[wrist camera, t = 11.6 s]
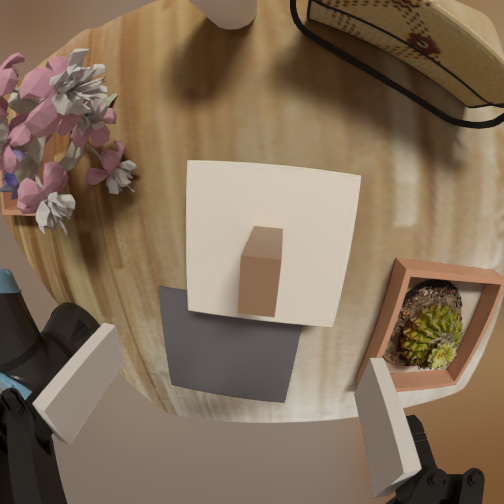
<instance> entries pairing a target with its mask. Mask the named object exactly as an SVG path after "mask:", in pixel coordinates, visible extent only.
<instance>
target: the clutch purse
mask: <svg viewBox="0 0 504 504" xmlns="http://www.w3.org/2000/svg"><path fill="white" fill-rule="evenodd" d="M290 10H291V15H292V18H293V21H294V23H295V24H296V26H297V28H298V29H299V30H300V31H301V32H302V33H303V34H304V35H306V36H307V37H309V38H310V39H312V40H313V41H315V42H317V43H318V44H320V45H322V46H323V47H325V48H327V49H328V50H330V51H332V52H333V53H335V54H337V55H338V56H340V57H342V58H343V59H345V60H347V61H349V62H350V63H352V64H354V65H355V66H357V67H359V68H360V69H362V70H364V71H365V72H367V73H369V74H370V75H372V76H374V77H375V78H377V79H379V80H380V81H382V82H384V83H385V84H387V85H388V86H390V87H392V88H394V89H395V90H397V91H399V92H400V93H402V94H404V95H405V96H407V97H408V98H410V99H411V100H413V101H415V102H416V103H418V104H419V105H421V106H423V107H424V108H426V109H427V110H429V111H430V112H432V113H434V114H435V115H437V116H438V117H440V118H442V119H443V120H445V121H447V122H449V123H451V124H454V125H457V126H462V127H467V128H476V129H482V128H490V127H494V126H497V125H499V124H500V123H502V122H504V113H503V114H501V115H500V116H498V117H497V118H495V119H493V120H489V121H484V122H470V121H463V120H459V119H455V118H452V117H450V116H448V115H446V114H444V113H443V112H441V111H440V110H438V109H436V108H435V107H433V106H432V105H430V104H429V103H427V102H425V101H424V100H422V99H421V98H419V97H418V96H416V95H414V94H413V93H411V92H410V91H408V90H406V89H405V88H403V87H401V86H400V85H398V84H397V83H395V82H393V81H392V80H390V79H388V78H387V77H385V76H384V75H382V74H380V73H379V72H377V71H375V70H374V69H372V68H370V67H369V66H367V65H365V64H364V63H362V62H360V61H359V60H357V59H355V58H354V57H352V56H350V55H349V54H347V53H345V52H344V51H342V50H340V49H338V48H337V47H335V46H333V45H332V44H330V43H328V42H327V41H325V40H324V39H322V38H320V37H319V36H317V35H315V34H314V33H312V32H311V31H310V30H308V29H307V28H306V27H305V26H304V25H303V24H302V22H301V20H300V19H299V17H298V14H297V9H296V0H290ZM307 19H308V20H309V19H312V20H315V21H318V22H320V23H323V24H326V25H329V26H331V27H334V28H336V29H339V30H341V31H344V32H346V33H349V34H351V35H353V36H355V37H358V38H360V39H362V40H364V41H366V42H368V43H370V44H372V45H374V46H376V47H378V48H380V49H382V50H384V51H386V52H388V53H390V54H392V55H393V56H395V57H397V58H399V59H401V60H402V61H404V62H406V63H407V64H409V65H411V66H412V67H414V68H415V69H417V70H419V71H420V72H422V73H423V74H425V75H426V76H428V77H429V78H431V79H432V80H434V81H435V82H436V83H438V84H439V85H441V86H442V87H443V88H445V89H446V90H447V91H449V92H450V93H451V94H453V95H454V96H455V97H456V98H458V99H459V100H460V101H461V102H463V103H464V104H465V106H466V107H468V108H479V107H485V106H495V107H500V108H504V58H503V57H502V56H501V55H500V54H499V53H498V52H497V51H496V50H495V49H494V48H493V47H492V46H490V45H489V44H488V43H487V42H486V41H485V40H484V39H483V38H482V37H480V36H479V35H478V34H477V33H476V32H475V31H473V30H472V29H471V28H470V27H468V26H467V25H466V24H465V23H463V22H462V21H461V20H459V19H458V18H457V17H455V16H454V15H453V14H451V13H450V12H449V11H447V10H446V9H444V8H443V7H441V6H440V5H438V4H437V3H435V2H434V1H432V0H308V7H307Z"/></svg>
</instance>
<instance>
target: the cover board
mask: <svg viewBox="0 0 504 504" xmlns="http://www.w3.org/2000/svg"><path fill="white" fill-rule="evenodd" d="M360 182H361V176H360V175H354V174H347V173H341V172H334V171H327V170H319V169H311V168H303V167H294V166H284V165H273V164H261V163H247V162H229V161H202V160H188V162H187V192H186V264H187V294H188V310H190V311H196V312H203V313H209V314H216V315H223V316H230V317H238V318H245V319H254V320H262V321H271V322H280V323H291V324H302V325H313V326H327V327H333V324H334V320H335V316H336V312H337V308H338V304H339V300H340V296H341V291H342V287H343V282H344V278H345V273H346V268H347V263H348V258H349V253H350V248H351V242H352V236H353V231H354V224H355V218H356V212H357V205H358V198H359V190H360Z"/></svg>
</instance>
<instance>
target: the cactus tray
mask: <svg viewBox="0 0 504 504" xmlns="http://www.w3.org/2000/svg"><path fill="white" fill-rule="evenodd" d="M410 277H421V278H432V279H443V280H454V281H466V282H477V283H486V285H485V288H484V291H483V293H482V296H481V299H480V301H479V304H478V307H477V309H476V311H475V314H474V316H473V319H472V321H471V323H470V325H469V328H468V330H467V332H466V334H465V336H464V338H463V340H462V342H461V344H460V346H459V348H458V350H457V351H458V352H456V353H457V355H456V356H455V357H454V360H453V361H452V362H451V363H450V365H449V367H448V369H444V370H437V371H435V370H434V371H423V372H409V373H390V376H391V378H392V381H393V383H394V386H395V389H396V391H397V392H402V391H413V390H423V389H431V388H438V387H445V386H451V385H456V383H457V382H458V380H459V379H460V377H461V375H462V374H463V372H464V370H465V369H466V367H467V365H468V364H469V362H470V360H471V358H472V356H473V355H474V353H475V351H476V349H477V347H478V345H479V343H480V341H481V339H482V337H483V335H484V333H485V331H486V329H487V327H488V324H489V322H490V320H491V318H492V315H493V313H494V311H495V308H496V306H497V303H498V301H499V298H500V296H501V293H502V290H503V287H504V277H503V276H501V275H500V274H499V273H497V272H496V271H495V270H491V269H483V268H475V267H467V266H459V265H451V264H443V263H435V262H427V261H418V260H410V259H402V258H396V259H395V263H394V267H393V271H392V275H391V279H390V282H389V286H388V290H387V293H386V296H385V300H384V303H383V306H382V309H381V313H380V316H379V319H378V322H377V325H376V328H375V330H374V333H373V336H372V339H371V342H370V344H369V347H368V350H367V352H366V355H365V357H364V360H363V362H362V365H361V367H360V370H359V372H358V375H357V377H356V379H357V384H358V385H359V383H360V380H361V378H362V376H363V374H364V371H365V369H366V366H367V364H368V362H369V359H370V358H382V356H383V354H384V352H385V349H386V347H387V344H388V342H389V339H390V337H391V334H392V332H393V329H394V326H395V324H396V321H397V318H398V315H399V312H400V309H401V306H402V303H403V300H404V297H405V294H406V291H407V288H408V284H409V281H410Z"/></svg>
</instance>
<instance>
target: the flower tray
mask: <svg viewBox="0 0 504 504" xmlns="http://www.w3.org/2000/svg"><path fill="white" fill-rule="evenodd" d="M54 138H55V134H54V135H53V136H52V138H51V139H50V140H49V141H48V142H47V143H46V144H45V147H44V153H43V158H42V161H41V162H42V165H43V166H41V167H39V170H38V174H39V178H40V182H41V184H43V185H44V178H43V172H44V166H45V163H48V162H54ZM14 149H15V148H12V149H11V150H12V151H13V150H14ZM4 174H5V173H4V172H2V171H1V170H0V188H1V187H3V183H4V182H5V181H6V180H3V181H1V180H2V179H3V177H4ZM35 182H36V179H35ZM36 183H37V182H36ZM11 194H13V193H12V192H1V203H2V213H3V215H27V216H36V213H32V214H22V213H21V212H20V210H19V209H18V207H17V198H16V199H15V200H11Z"/></svg>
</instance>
